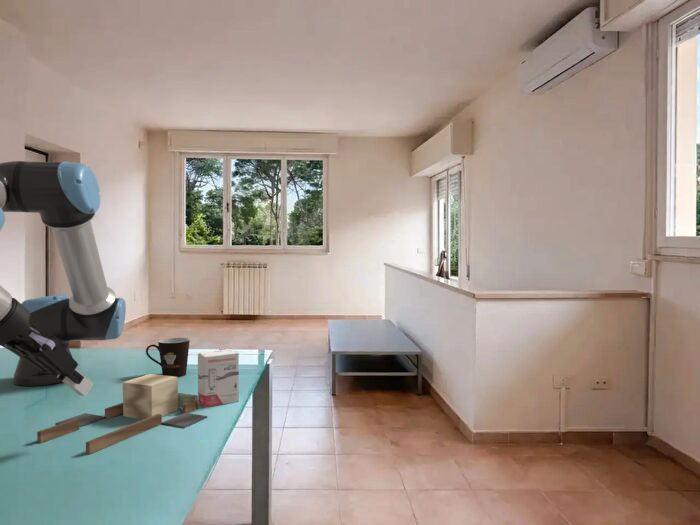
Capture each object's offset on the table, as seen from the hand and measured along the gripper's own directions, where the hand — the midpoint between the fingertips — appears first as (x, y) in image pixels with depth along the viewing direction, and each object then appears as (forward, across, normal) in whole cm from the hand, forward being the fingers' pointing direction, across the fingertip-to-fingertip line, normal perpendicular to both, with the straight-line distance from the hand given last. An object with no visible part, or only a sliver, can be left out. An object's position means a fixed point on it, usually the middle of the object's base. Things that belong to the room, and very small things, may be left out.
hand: (86, 389), depth 98 cm
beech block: (+19, -1, +5) cm, 19 cm away
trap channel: (+13, 0, 0) cm, 13 cm away
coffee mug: (+39, -22, +24) cm, 51 cm away
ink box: (+28, +8, +13) cm, 32 cm away
